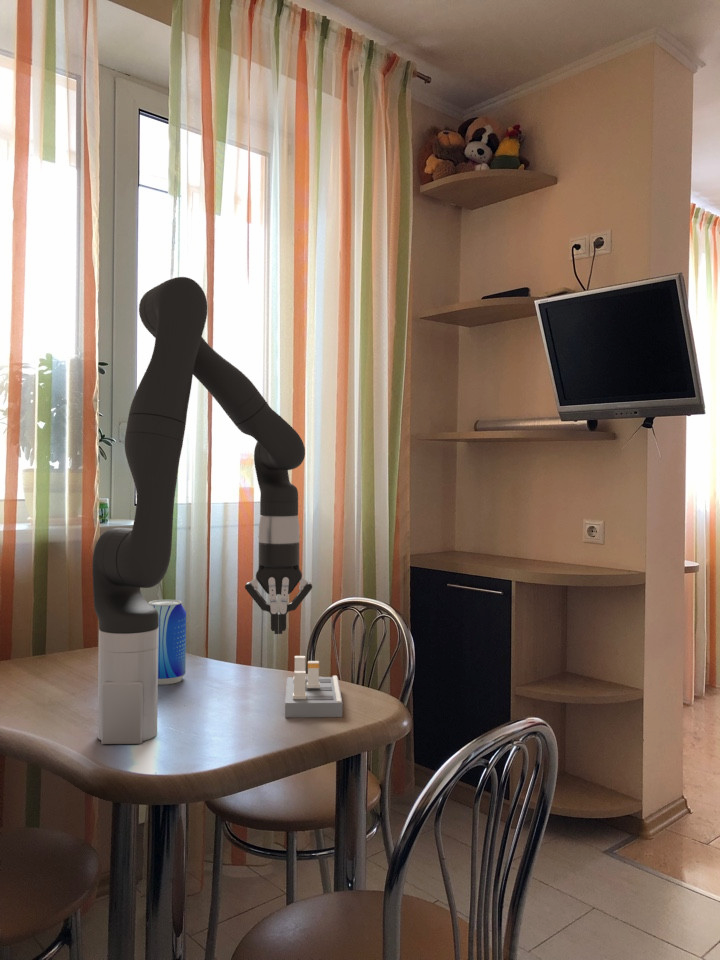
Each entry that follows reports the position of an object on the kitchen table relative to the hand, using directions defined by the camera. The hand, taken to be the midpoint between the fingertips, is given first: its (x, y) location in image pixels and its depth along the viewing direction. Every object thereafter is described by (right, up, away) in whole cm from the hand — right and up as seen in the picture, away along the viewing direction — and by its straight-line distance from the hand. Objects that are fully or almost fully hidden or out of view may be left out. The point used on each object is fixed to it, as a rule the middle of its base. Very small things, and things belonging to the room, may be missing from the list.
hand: (278, 633), depth 150 cm
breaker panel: (+6, -13, 0) cm, 14 cm away
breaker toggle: (+6, -10, 0) cm, 12 cm away
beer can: (-25, -13, +15) cm, 32 cm away
